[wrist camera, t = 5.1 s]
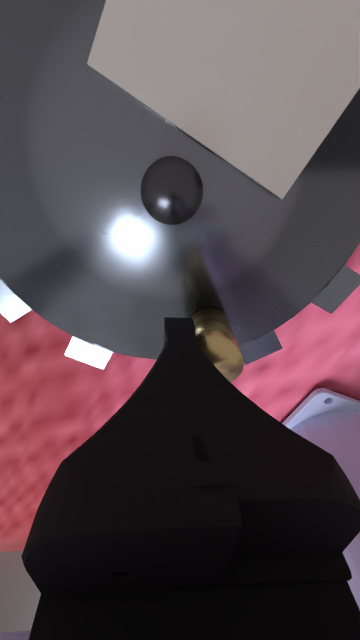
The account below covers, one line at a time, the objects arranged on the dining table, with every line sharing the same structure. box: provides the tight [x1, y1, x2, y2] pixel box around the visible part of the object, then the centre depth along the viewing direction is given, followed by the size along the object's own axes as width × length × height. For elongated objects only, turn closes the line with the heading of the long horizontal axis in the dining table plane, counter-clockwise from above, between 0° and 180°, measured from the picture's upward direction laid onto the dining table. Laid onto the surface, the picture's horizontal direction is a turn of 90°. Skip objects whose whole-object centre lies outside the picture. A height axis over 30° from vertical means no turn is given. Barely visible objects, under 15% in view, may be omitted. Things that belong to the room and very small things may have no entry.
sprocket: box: [0, 0, 360, 382], centre depth 8 cm, size 16×16×4 cm
